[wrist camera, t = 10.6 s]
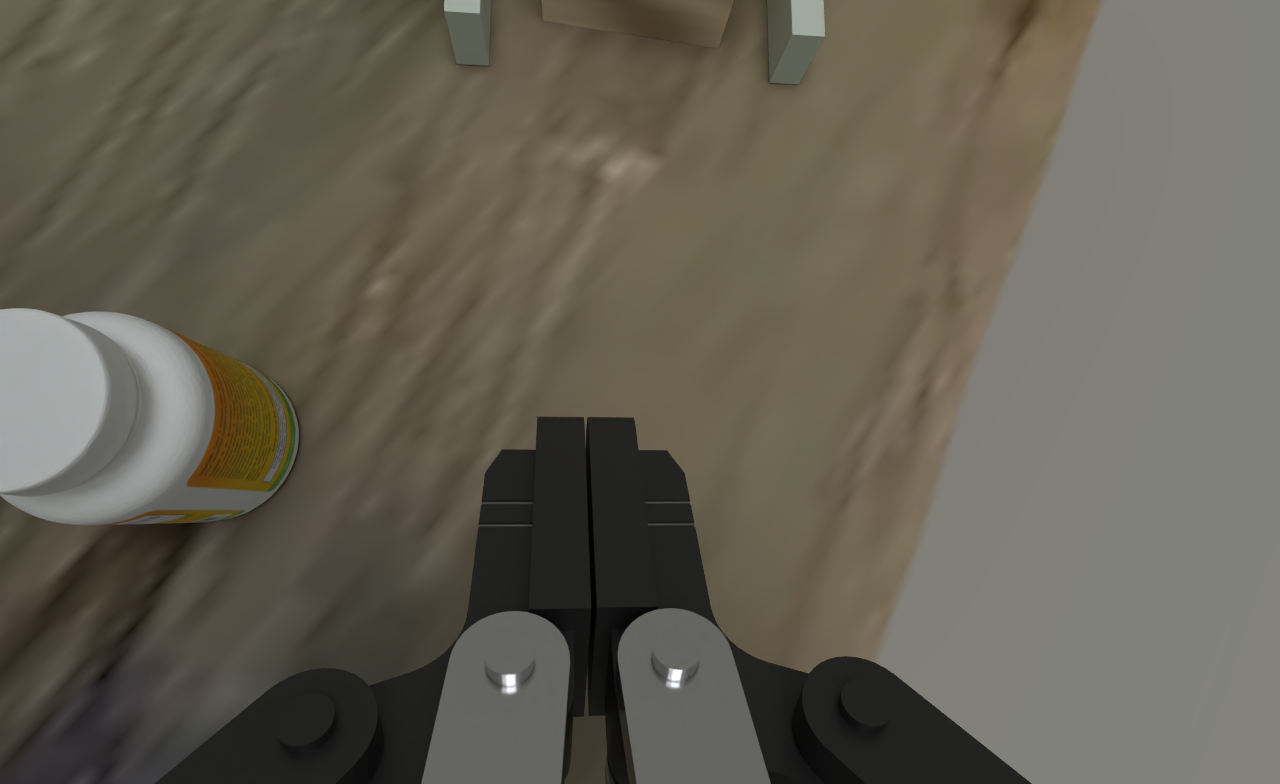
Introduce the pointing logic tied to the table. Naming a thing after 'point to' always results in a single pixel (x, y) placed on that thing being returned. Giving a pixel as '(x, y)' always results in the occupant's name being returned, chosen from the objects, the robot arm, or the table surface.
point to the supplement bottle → (133, 423)
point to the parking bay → (789, 34)
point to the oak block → (647, 18)
